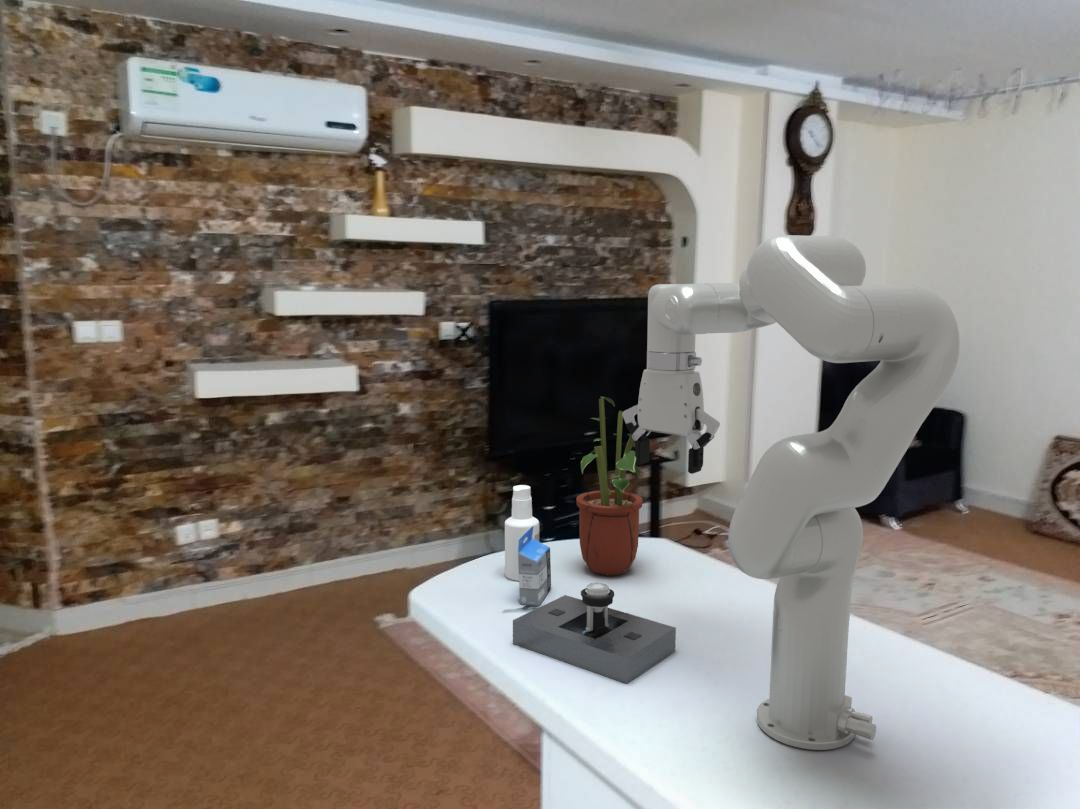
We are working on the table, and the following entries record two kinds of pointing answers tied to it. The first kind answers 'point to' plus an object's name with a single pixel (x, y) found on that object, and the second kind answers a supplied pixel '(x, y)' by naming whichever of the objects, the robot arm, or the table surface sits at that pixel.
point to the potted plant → (610, 508)
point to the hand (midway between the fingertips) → (668, 467)
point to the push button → (597, 609)
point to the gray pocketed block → (610, 655)
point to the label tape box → (533, 570)
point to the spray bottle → (518, 528)
